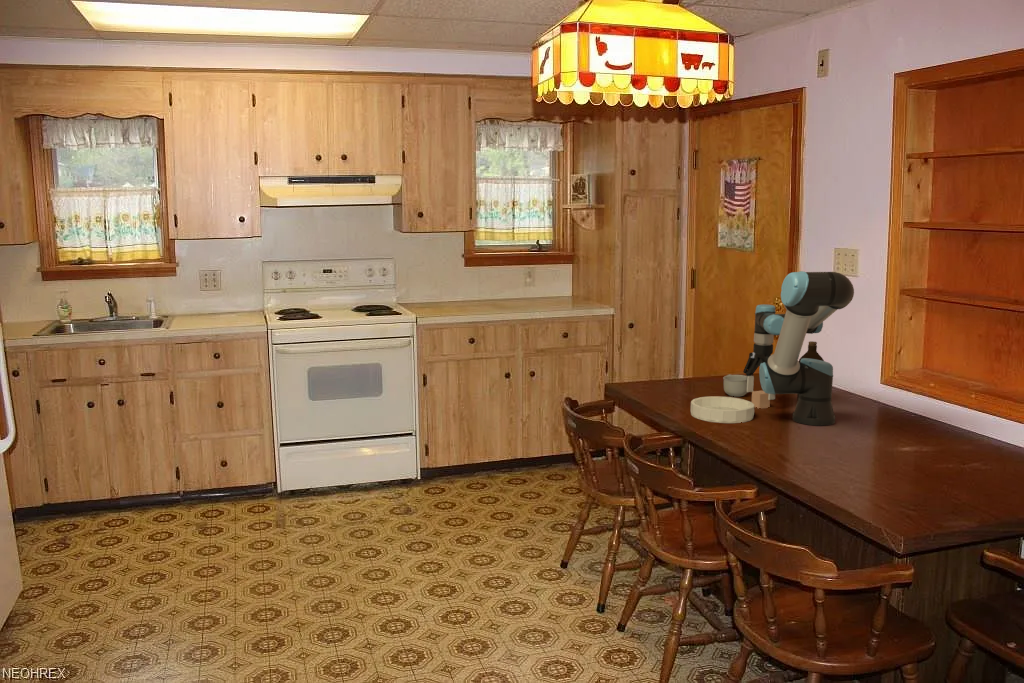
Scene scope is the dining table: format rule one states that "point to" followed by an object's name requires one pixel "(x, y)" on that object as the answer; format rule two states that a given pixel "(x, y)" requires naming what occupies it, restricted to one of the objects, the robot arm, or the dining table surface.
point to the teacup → (735, 385)
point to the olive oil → (811, 354)
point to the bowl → (722, 409)
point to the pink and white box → (760, 399)
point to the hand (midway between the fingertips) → (760, 395)
